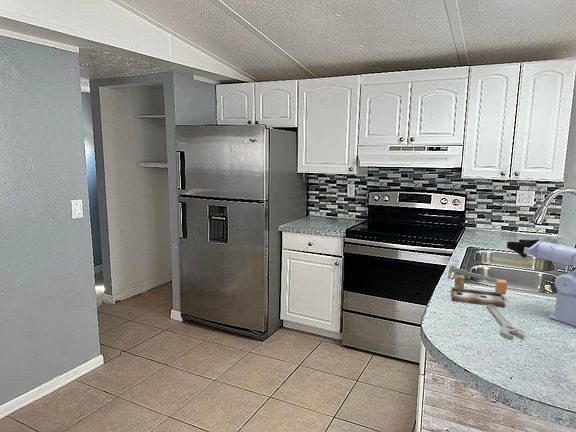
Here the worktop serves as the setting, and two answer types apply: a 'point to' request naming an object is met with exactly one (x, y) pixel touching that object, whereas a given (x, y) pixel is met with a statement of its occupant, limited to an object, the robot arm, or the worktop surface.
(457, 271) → the caliper
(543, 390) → the worktop surface
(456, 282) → the board
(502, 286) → the block
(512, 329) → the adjustable wrench
